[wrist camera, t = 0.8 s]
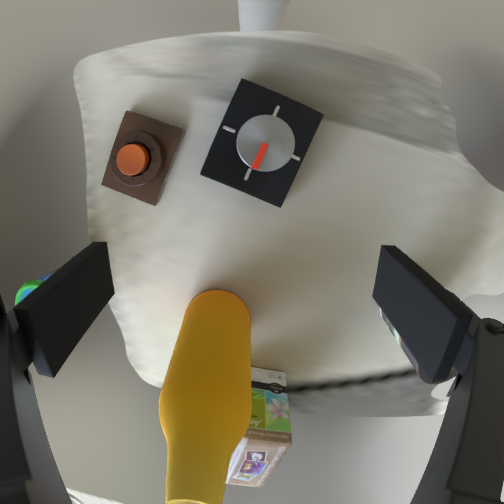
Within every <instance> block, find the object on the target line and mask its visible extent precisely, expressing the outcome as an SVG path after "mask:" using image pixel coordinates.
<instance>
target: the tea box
mask: <svg viewBox="0 0 504 504" xmlns="http://www.w3.org/2000/svg"><path fill="white" fill-rule="evenodd" d="M251 395H252V413H251V418H250V423H249V426H248V429H247V431H246V433H245V435H244V436H243V438H242V440H241V441H240V443H239V444H238V446H237V447H236V449H235V450H234V452H233V454H232V456H231V459H230V463H229V468H228V474H227V479H226V483H228V484H235V485H244V486H254V487H262V486H263V485H264V484H265V483H266V481H267V480H268V478H269V477H270V475H271V474H272V473H273V471H274V469H275V468H276V467H277V465H278V464H279V462H280V461H281V460H282V458H283V457H284V455H285V453H286V452H287V451H288V449H289V447H290V446H291V444H292V436H291V425H290V415H289V404H288V395H287V386H286V377H285V373H284V372H278V371H272V370H267V369H261V368H255V367H251Z"/></svg>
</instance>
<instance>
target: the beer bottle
mask: <svg viewBox="0 0 504 504" xmlns="http://www.w3.org/2000/svg"><path fill="white" fill-rule="evenodd" d="M250 334H251V318H250V314H249V311H248V308H247V307H246V305H245V303H244V302H243V301H242V300H241V299H240V298H239V297H238V296H236V295H234V294H233V293H230V292H228V291H223V290H209V291H206V292H203V293H201V294H199V295H197V296H196V297H195V298H194V299H193V300H192V301H191V302H190V304H189V305H188V307H187V309H186V312H185V315H184V319H183V323H182V326H181V329H180V332H179V335H178V338H177V342H176V345H175V348H174V351H173V354H172V358H171V361H170V364H169V367H168V371H167V374H166V377H165V380H164V384H163V386H162V390H161V394H160V399H159V416H160V422H161V426H162V429H163V432H164V435H165V438H166V440H167V444H168V459H167V476H166V477H167V478H166V504H222V501H223V496H224V491H225V485H226V479H227V474H228V468H229V463H230V459H231V456H232V454H233V452H234V450H235V449H236V447H237V446H238V444H239V443H240V441H241V440H242V438H243V436H244V435H245V433H246V431H247V429H248V426H249V423H250V418H251V413H252V395H251V337H250Z"/></svg>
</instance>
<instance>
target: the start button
mask: <svg viewBox="0 0 504 504" xmlns="http://www.w3.org/2000/svg"><path fill="white" fill-rule="evenodd" d="M149 159H150V157H149V153H148V150H147V149H146V148H145V147H144V146H143V145H141V144H128V145H125V146H124V147H122V148H121V149H120V151H119V152H118V155H117V166H118V168H119V169H120V171H121V172H122V173H124V174H126V175H135V174H138V173H141V172H143V171H144V170H145V169H146V168H147V166H148V164H149Z"/></svg>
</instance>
